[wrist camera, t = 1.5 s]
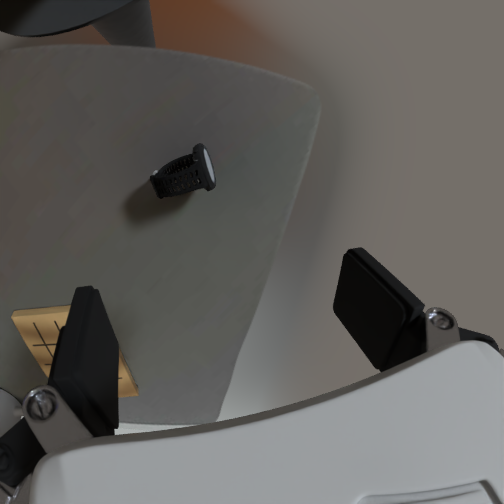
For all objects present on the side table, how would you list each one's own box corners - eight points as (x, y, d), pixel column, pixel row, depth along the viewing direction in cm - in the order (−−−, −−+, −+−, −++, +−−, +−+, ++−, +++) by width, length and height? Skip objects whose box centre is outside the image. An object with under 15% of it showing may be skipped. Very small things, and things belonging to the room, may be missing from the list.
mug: (-39, 436, 17) (-27, 383, 26) (-7, 460, 22) (-1, 411, 31) (9, 446, 20) (19, 385, 29) (42, 469, 25) (45, 413, 34)
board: (13, 310, 24) (10, 317, 23) (101, 301, 27) (100, 309, 26) (64, 393, 32) (63, 400, 31) (138, 389, 35) (138, 396, 34)
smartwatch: (210, 186, 25) (220, 205, 21) (151, 185, 24) (148, 205, 19) (214, 139, 23) (226, 149, 19) (153, 138, 22) (150, 147, 17)
